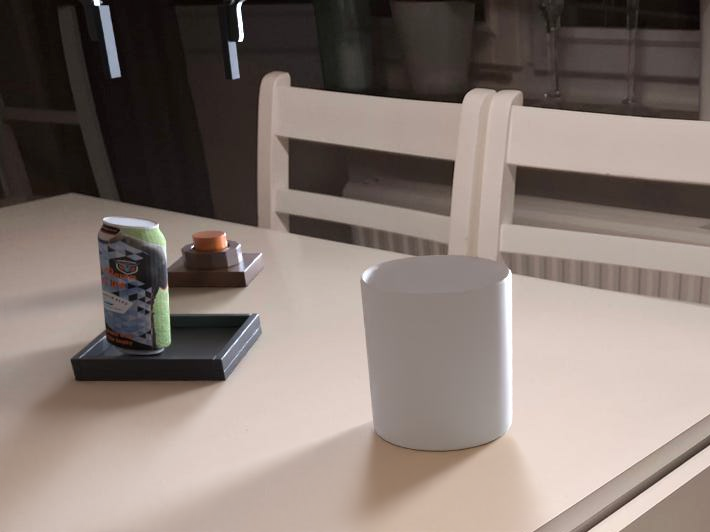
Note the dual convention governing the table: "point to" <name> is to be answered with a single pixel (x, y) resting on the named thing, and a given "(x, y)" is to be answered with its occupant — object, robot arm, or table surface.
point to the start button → (209, 241)
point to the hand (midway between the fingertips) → (172, 78)
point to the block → (214, 267)
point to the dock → (176, 351)
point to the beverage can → (134, 285)
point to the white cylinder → (439, 350)
